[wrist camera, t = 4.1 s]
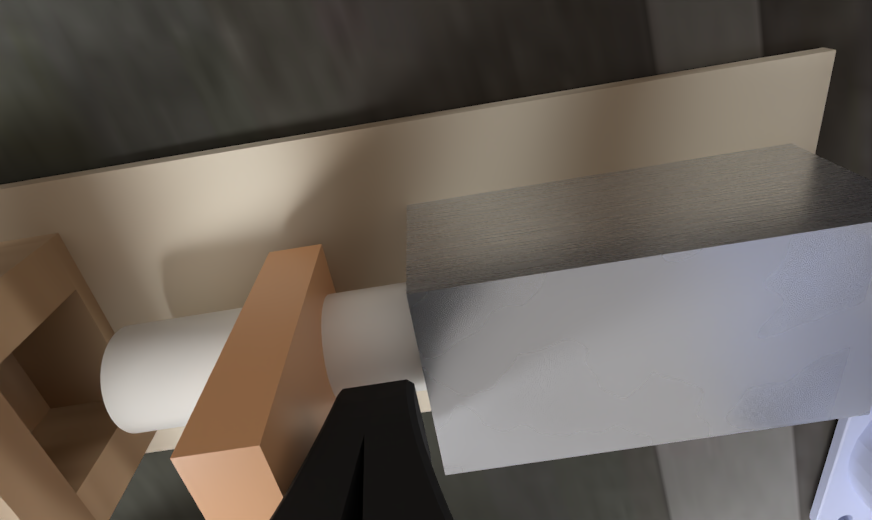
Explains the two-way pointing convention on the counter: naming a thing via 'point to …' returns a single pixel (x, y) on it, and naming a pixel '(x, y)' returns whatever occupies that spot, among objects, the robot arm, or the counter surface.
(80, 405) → the socket
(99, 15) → the counter surface
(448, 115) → the board
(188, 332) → the plug
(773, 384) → the sleeve
